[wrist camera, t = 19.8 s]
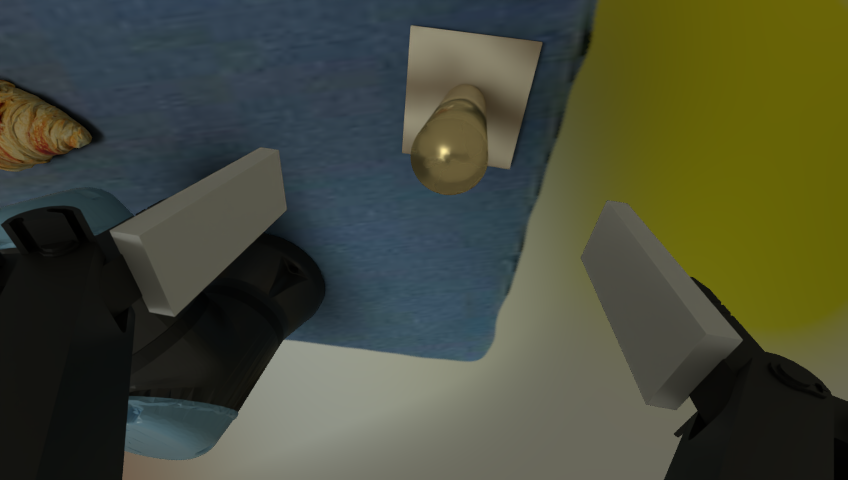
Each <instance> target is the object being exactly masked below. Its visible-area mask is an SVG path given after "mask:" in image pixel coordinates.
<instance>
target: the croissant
mask: <svg viewBox="0 0 848 480" xmlns="http://www.w3.org/2000/svg"><path fill="white" fill-rule="evenodd" d="M91 139H92V136H91V135H90V133H89V132H88V131H87V130H86V129H85V128H84V127H83V126H82V125H81V124H80V123H78V122H76V121H75V120H73V119H72V118H71V117H69V116H68V115H67V114H66V113H64V112H63V111H61V110H60V109H58V108H56V107H55V106H52V105H50V104H48V103H46V102H45V101H44V100H42V99H40V98H39V97H37V96H35V95H33V94H30V93H27V92H25V91H23V90H21V89H18V88H15V85H14V84H12V83H10V82H7V81H5V80H0V169H3V170H6V171H22V170H24V169H27V168H32V167H33V166H34V165H35V164H40V163H47V162H49V161H50V160H51V159H52V157H53V156H54V155H60V154H66V153H68V152H69V151H70V150H72V149H73V148H81V147H83V146H85V145H87V144H89V143H90V142H91Z"/></svg>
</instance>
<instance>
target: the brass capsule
mask: <svg viewBox="0 0 848 480" xmlns="http://www.w3.org/2000/svg"><path fill="white" fill-rule="evenodd" d="M411 164H412V168H413V171H414V173H415V175H416V176H417V178H418V179H419V181H420V182H421V183H422V184H423V185H424V186H426V187H427V188H428V189H430V190H432V191H434V192H436V193H439V194H444V195H456V194H460V193H463V192H466V191H468V190H470V189H471V188H473V187H474V186H475V185H476V184H477V183H478V182H479V181H480V180H481V178H482V177H483V175H484V173H485V171H486V169H487V165H488V137H487V115H486V101H485V98H484V95H483V94H482V92H481V91H480V90H479V89H478V88H476V87H475V86H473V85H470V84H461V85H457V86H455V87H454V88H452V89H451V90H450V91H449V92H448V93H447V95H446V96H445V97H444V99H443V100H442V101H441V103H440V104H439V106H438V107H437V108H436V110H435V111H434V112H433V114H432V115H431V117H430V118H429V119H428V121H427V122H426V123H425V125H424V126H423V128H422V129H421V130H420V132H419V133H418V135H417V136H416V138H415V140H414V142H413V145H412V148H411Z"/></svg>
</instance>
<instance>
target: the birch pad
mask: <svg viewBox="0 0 848 480" xmlns="http://www.w3.org/2000/svg"><path fill="white" fill-rule="evenodd" d="M542 43H543V42H538V41H530V40H523V39H515V38H507V37H499V36H491V35H483V34H475V33H468V32H460V31H452V30H444V29H436V28H428V27H420V26H411V30H410V45H409V59H408V74H407V88H406V103H405V117H404V132H403V147H402V153H407V154H411V148H412V145H413V142H414V140H415V138H416V136H417V135H418V133H419V132H420V130H421V129H422V128H423V126H424V125H425V123H426V122H427V121H428V119H429V118H430V117H431V115H432V114H433V112H434V111H435V110H436V108H437V107H438V106H439V104H440V103H441V101H442V100H443V99H444V97H445V96H446V95H447V93H448V92H449V91H450V90H451V89H452V88H454V87H455V86H457V85H461V84H470V85H473V86H475V87H476V88H478V89H479V90H480V91H481V92H482V94H483V95H484V98H485V101H486V115H487V137H488V165H487V166H492V167H498V168H505V169H510V165H511V161H512V158H513V154H514V150H515V146H516V142H517V138H518V135H519V131H520V127H521V123H522V119H523V115H524V112H525V108H526V104H527V100H528V96H529V92H530V89H531V85H532V81H533V77H534V73H535V70H536V66H537V62H538V58H539V54H540V50H541V47H542Z"/></svg>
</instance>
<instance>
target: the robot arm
mask: <svg viewBox="0 0 848 480" xmlns="http://www.w3.org/2000/svg"><path fill="white" fill-rule="evenodd" d="M286 210H287V207H286V199H285V192H284V185H283V178H282V171H281V164H280V157H279V150H275V149H268V148H262V147H260V148H258V149H257V150H255V151H253V152H251V153H249V154H248V155H246V156H244V157H242V158H240V159H239V160H237V161H235V162H233V163H231V164H229V165H228V166H226V167H224V168H222V169H220V170H219V171H217V172H215V173H213V174H211V175H209V176H208V177H206V178H204V179H202V180H200V181H199V182H197V183H195V184H193V185H191V186H190V187H188V188H186V189H184V190H182V191H180V192H179V193H177V194H175V195H173V196H171V197H170V198H167V199H163V200H161V201H159V202H157V203H155V204H153V205H152V206H150V207H148V208H147V210H146V209H144V210H142V211H141V212H139V213H137V214H136V216H134V215H133V214H132V213H131V212H130V211H129V210H128V209H127V208H126V207H125V206H124V205H123V204H122V203H121V202H120V201H119V200H118V199H117V198H116V197H114V196H113V195H112V194H110V193H108V192H106V191H104V190H101V189H97V188H76V189H71V190H66V191H62V192H58V193H54V194H50V195H46V196H42V197H38V198H34V199H30V200H27V201H23V202H19V203H16V204H12V205H8V206H5V207H1V208H0V480H122V474H123V462H124V451H128V452H131V453H134V454H139V455H143V456H148V457H153V458H159V459H167V460H186V459H192V458H196V457H199V456H201V455H203V454H205V453H207V452H208V451H209V450H211V449H212V448H213V447H214V446H215V444H216V443H217V442H218V440H219V439H220V437H221V436H222V435H223V433H224V432H225V431H226V429H227V428H228V427H229V425H230V423H231V422H232V421H233V420H234V419H235V418H236V417H237V416H238V411H239V410H240V408H241V407H242V405H243V403H244V402H245V400H246V398H247V397H248V395H249V394H250V392H251V390H252V389H253V387H254V386H255V384H256V383H257V381H258V379H259V378H260V376H261V375H262V373H263V371H264V370H265V368H266V366H267V365H268V363H269V362H270V360H271V359H272V357H273V356H274V354H275V352H276V350H277V349H278V347H279V346H280V344H281V343H282V341H283V340H284V339H285V338H286V337H287V336H289V335H290V334H291V333H292V332H294V331H295V330H296V329H297V328H298V327H300V326H301V325H302V324H303V323H304V322H305V321H307V320H309V319H310V318H311V317H312V316H313V315H314V314H315V312H316V311H317V309H318V307H319V306H320V304H321V302H322V300H323V298H324V294H325V284H324V280H323V277H322V275H321V272H320V271H319V269H318V267H317V266H316V264H315V263H314V262H313V261H312V259H311V258H310V257H309V256H308V255H307V254H306V253H304V252H303V251H302V250H301V249H299V248H298V247H297V246H295V245H293V244H292V243H290V242H288V241H286V240H284V239H282V238H279V237H276V236H273V235H269V234H264V233H263V232H264V231H265V230H266V229H267V228H268V227H269V226H270V225H271V224H273V223H274V222H275V221H276V220H277V219H278V218H279V217H280V216H281V215H282V214H283V213H284V212H285V211H286ZM581 259H582V262H583V264H584V266H585V268H586V270H587V273H588V275H589V277H590V280H591V282H592V284H593V286H594V288H595V291H596V293H597V295H598V298H599V300H600V302H601V304H602V307H603V309H604V311H605V313H606V315H607V318H608V320H609V322H610V324H611V327H612V329H613V331H614V333H615V336H616V338H617V340H618V342H619V344H620V347H621V349H622V352H623V354H624V356H625V358H626V361H627V363H628V365H629V367H630V370H631V372H632V374H633V376H634V379H635V381H636V383H637V385H638V388H639V390H640V392H641V394H642V397H643V399H644V401H645V403H646V405H652V406H657V407H662V408H668V409H673V410H677V409H678V408H679V407H680V406H681V404H682V403H683V402H684V401H685V400H686V399H687V398H688V397H689V396H690V398H691V400H692V401H693V403H694V405H695V407H696V408H697V410H698V411H697V412H696V413H695V414H694V415H693V416H692V417H691V418H690V419H689V420H688V421H687V422H686V423H685V424H684V425H682V426H681V427H680V428H679V429H678V430H677V431H676V432H675V433H674V435H675V436H677V437H679V436H681V435H682V434H683V435H682V438H681V440H680V443H679V445H678V447H677V450H676V452H675V455H674V457H673V459H672V462H671V464H670V467H669V469H668V471H667V474H666V476H665V479H664V480H848V401H845V400H843V399H840V398H838V397H835V396H832V394H831V392H830V390H829V389H828V388H827V387H826V386H825V385H824V383H823V382H822V381H821V380H820V379H818V378H817V377H816V376H815V375H813V374H812V373H811V372H810V371H808V370H807V369H805V368H804V367H802V366H800V365H799V364H797V363H795V362H794V361H791V360H789V359H787V358H785V357H782V356H780V355H777V354H773V353H769V352H765V351H764V350H763V349H762V348H761V347H760V346H759V345H758V343H757V342H756V341H755V340H754V339H753V338H752V337H751V335H750V334H748V332H747V331H746V330H745V329H744V328H743V326H742V325H741V324H740V323H739V322H738V321H737V320H736V318H735V317H734V316H731V315H730V314H731V313H730V312H729V311H728V310H727V309H726V307H725V306H724V305H721V301H720V300H718V299H717V297H716V296H715V295H714V294H713V292H712V291H711V290H710V289H709V288H707V287H706V286H704V285H703V284H701V283H700V282H699V281H697V280H696V279H695V278H693V277H689V276H688V275H687V273H686V272H685V271H684V270H683V269H682V267H681V266H680V265H679V264H678V263H677V261H676V260H675V259H674V258H673V257H672V256H671V254H670V253H669V252H668V251H667V250H666V249H665V248H664V246H663V245H662V244H661V243H660V241H659V240H658V239H657V238H656V237H655V236H654V234H653V233H652V232H651V231H650V230H649V228H648V227H647V226H646V225H645V224H644V222H643V221H642V220H641V219H640V218H639V217H638V215H637V214H636V213H635V212H634V211H633V209H632V208H631V207H630V206H629V205H628V204H627V203H622V202H615V201H608V200H607V201H606V204H605V206H604V208H603V210H602V212H601V214H600V217H599V219H598V221H597V223H596V226H595V228H594V230H593V232H592V234H591V237H590V239H589V241H588V243H587V245H586V247H585V250H584V252H583V254H582V256H581Z"/></svg>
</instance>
